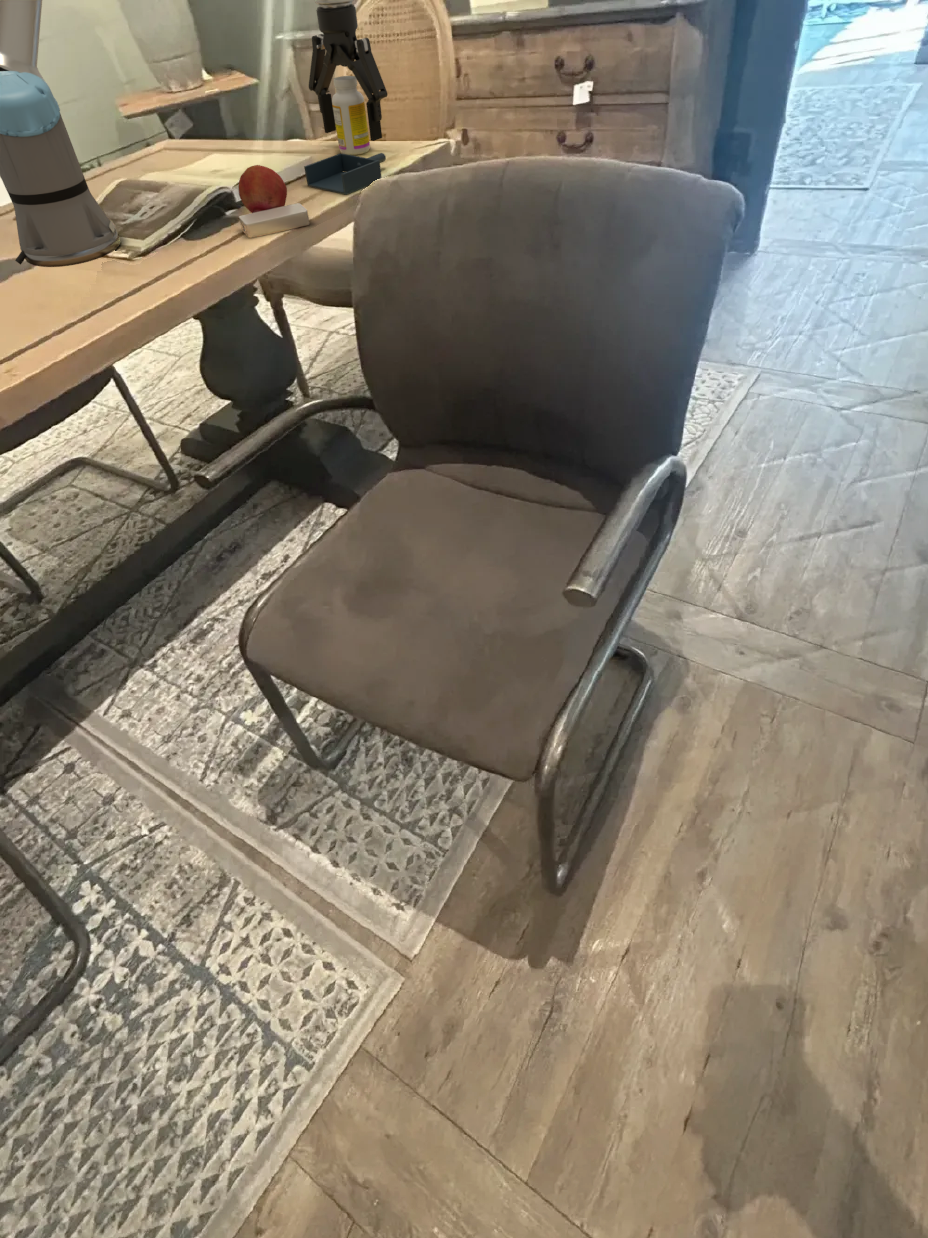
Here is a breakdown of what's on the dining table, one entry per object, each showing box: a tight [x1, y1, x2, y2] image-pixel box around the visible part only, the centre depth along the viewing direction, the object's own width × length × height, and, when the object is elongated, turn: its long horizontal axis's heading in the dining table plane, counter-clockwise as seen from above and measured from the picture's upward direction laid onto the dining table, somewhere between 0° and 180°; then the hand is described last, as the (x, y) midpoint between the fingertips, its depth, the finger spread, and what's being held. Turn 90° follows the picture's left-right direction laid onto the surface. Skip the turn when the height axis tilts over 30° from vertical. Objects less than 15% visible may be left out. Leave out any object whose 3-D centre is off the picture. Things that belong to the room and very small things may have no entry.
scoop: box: [303, 152, 387, 196], centre depth 139 cm, size 17×10×3 cm, turn 142°
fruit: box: [238, 164, 288, 213], centre depth 124 cm, size 8×8×10 cm
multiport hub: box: [238, 202, 311, 239], centre depth 122 cm, size 4×11×2 cm, turn 118°
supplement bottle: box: [331, 75, 371, 156], centre depth 149 cm, size 7×7×13 cm
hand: (353, 135), depth 152 cm, fingers open, 13 cm apart
